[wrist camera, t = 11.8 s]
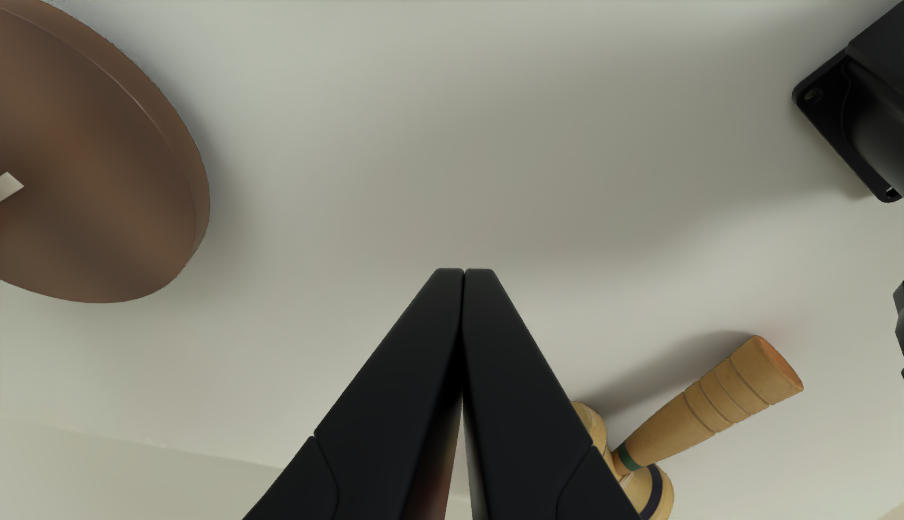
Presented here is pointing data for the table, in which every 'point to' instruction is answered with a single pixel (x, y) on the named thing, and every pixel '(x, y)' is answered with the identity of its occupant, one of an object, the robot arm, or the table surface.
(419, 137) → the table surface
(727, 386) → the kendama
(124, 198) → the disc
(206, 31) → the table surface
